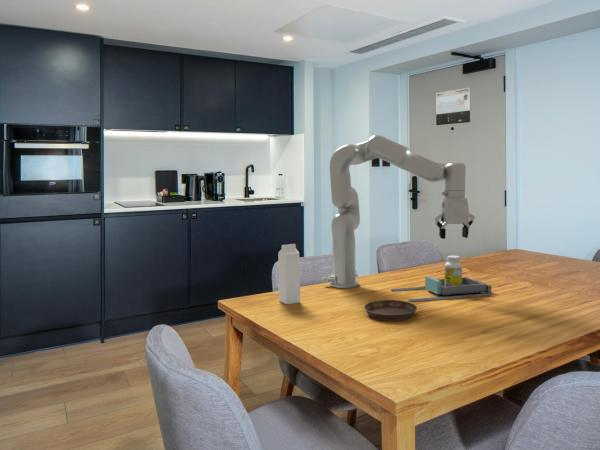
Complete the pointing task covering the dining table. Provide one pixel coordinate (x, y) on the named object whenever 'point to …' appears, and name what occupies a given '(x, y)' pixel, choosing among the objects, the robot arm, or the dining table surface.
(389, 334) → the dining table surface
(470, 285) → the drawer
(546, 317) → the dining table surface
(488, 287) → the rails
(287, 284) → the milk
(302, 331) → the dining table surface
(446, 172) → the robot arm
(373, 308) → the plant saucer
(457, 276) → the supplement bottle
